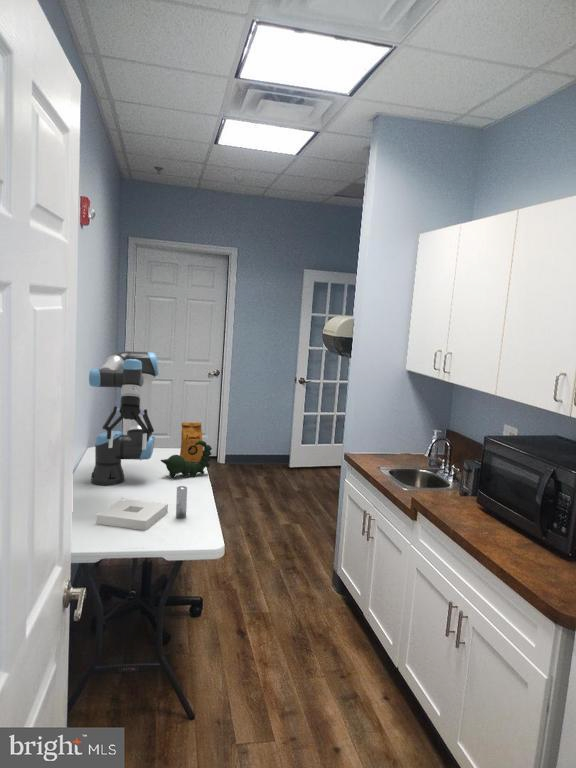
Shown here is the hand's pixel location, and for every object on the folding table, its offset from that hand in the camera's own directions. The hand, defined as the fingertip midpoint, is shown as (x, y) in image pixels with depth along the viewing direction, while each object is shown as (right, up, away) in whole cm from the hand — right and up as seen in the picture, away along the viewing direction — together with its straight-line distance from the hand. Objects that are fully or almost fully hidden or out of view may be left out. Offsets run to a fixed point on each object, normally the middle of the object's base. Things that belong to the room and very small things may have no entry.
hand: (127, 448), depth 218 cm
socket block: (+4, -26, -5) cm, 27 cm away
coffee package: (+11, -17, +83) cm, 85 cm away
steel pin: (+22, -27, -1) cm, 35 cm away
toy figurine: (+13, -20, +55) cm, 60 cm away
